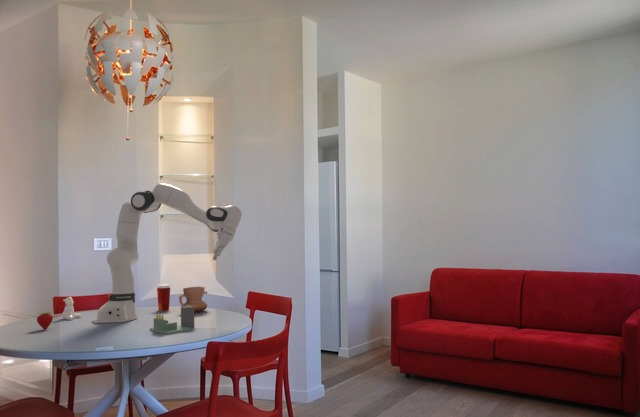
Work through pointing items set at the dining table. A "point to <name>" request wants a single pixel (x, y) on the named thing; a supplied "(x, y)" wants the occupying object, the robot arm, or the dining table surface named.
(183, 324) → the plug block
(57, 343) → the dining table surface
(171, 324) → the header board
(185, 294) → the ceramic jug
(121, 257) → the robot arm
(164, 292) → the coffee cup
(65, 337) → the dining table surface
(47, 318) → the strawberry
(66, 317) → the white creature statuette
